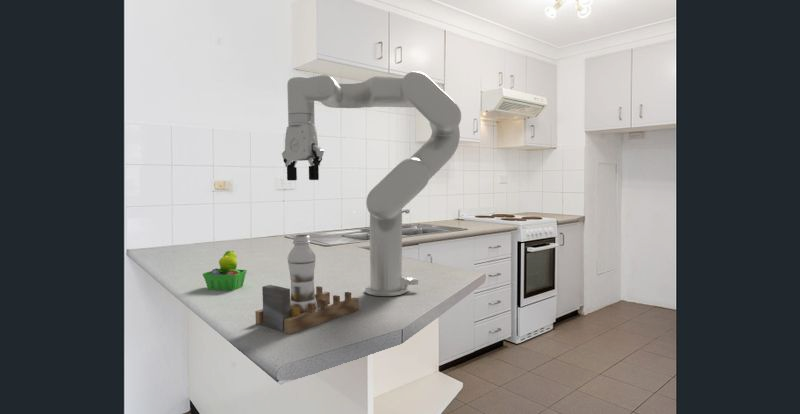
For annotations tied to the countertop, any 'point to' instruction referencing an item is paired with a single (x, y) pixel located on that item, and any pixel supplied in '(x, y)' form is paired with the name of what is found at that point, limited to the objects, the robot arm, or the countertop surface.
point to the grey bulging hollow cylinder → (302, 273)
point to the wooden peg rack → (289, 317)
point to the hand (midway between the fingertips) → (302, 180)
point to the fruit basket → (225, 274)
